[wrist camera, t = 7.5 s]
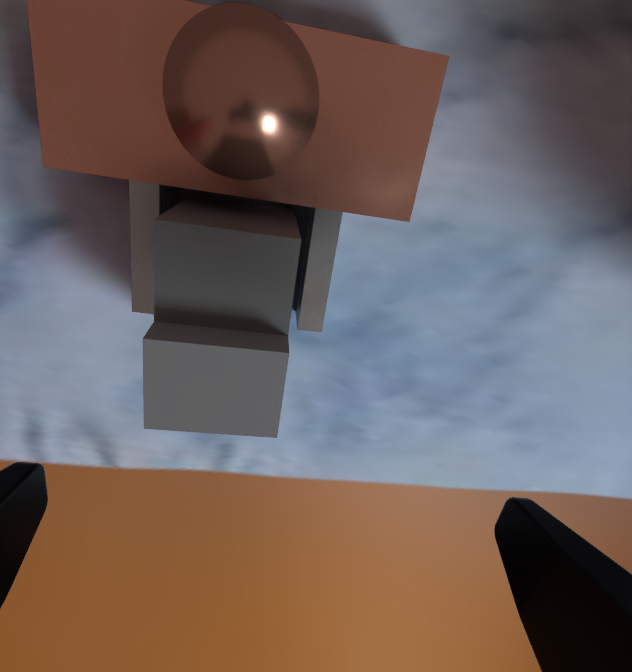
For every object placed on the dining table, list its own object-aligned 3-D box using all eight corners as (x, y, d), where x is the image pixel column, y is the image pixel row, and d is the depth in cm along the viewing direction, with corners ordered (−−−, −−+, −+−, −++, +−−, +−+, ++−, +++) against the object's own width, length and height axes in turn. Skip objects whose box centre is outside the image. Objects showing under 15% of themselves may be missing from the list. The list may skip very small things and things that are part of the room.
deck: (418, 71, 16) (462, 49, 12) (364, 319, 20) (384, 359, 16) (72, 0, 14) (0, -50, 10) (91, 288, 18) (44, 325, 14)
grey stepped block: (293, 208, 17) (303, 249, 11) (276, 339, 20) (277, 438, 13) (193, 193, 17) (141, 227, 10) (188, 330, 19) (143, 428, 13)
